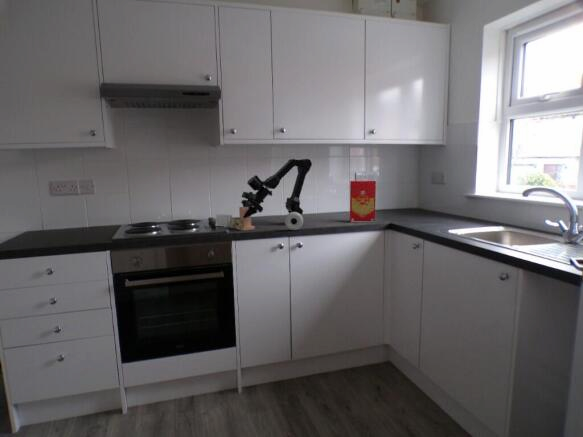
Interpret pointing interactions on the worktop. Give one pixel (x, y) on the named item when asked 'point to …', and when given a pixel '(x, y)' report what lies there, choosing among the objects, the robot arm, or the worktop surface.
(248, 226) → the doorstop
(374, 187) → the food packaging
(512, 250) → the worktop surface
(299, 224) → the donut
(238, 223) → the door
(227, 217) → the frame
